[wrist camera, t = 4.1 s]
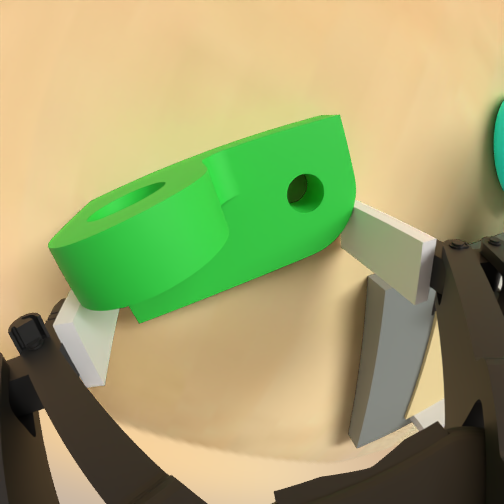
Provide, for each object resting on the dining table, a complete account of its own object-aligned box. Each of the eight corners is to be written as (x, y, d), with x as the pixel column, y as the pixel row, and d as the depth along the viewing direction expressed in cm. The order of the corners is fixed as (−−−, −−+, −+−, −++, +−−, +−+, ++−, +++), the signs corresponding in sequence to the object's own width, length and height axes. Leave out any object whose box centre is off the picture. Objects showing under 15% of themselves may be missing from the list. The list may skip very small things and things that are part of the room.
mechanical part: (142, 302, 16) (131, 421, 9) (90, 200, 14) (20, 272, 6) (345, 221, 17) (446, 285, 10) (320, 115, 15) (435, 116, 7)
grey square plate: (512, 229, 22) (551, 248, 17) (472, 369, 29) (497, 392, 25) (367, 275, 19) (415, 316, 14) (348, 434, 26) (369, 471, 22)
